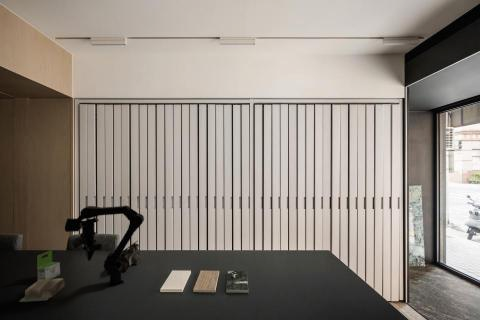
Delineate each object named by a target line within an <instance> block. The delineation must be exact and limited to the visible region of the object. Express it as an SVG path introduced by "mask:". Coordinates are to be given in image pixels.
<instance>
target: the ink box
mask: <svg viewBox="0 0 480 320" xmlns="http://www.w3.org/2000/svg"><path fill="white" fill-rule="evenodd" d="M45 255H47V256H45ZM44 256H45V257H44ZM36 260H37V261H36V263H37V264H36V266H37V267H36V269H37V270H36V273H37V274H36V277H37V281H38V280H41V279H55V278H56V277H58V276H60V275H61V267H60V266H61V264H60V262H57V261H53V250H52V249H51V250H48V251H46V252H44V253H41V254H38V255H37V259H36ZM37 281H36V282H37Z"/></svg>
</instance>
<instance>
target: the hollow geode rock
mask: <svg viewBox="0 0 480 320" xmlns="http://www.w3.org/2000/svg"><path fill="white" fill-rule="evenodd" d="M138 242H139V240H136V241H135V242H133V243H132V244H131V245H129V246H128V247H127V248H126V247H125V248H124V250H123V251H122V253H121V256H120V259H119V262H120V263H122V264H123V265H122V268H121V269H120V270H121V272H125V271H126V270H129V268H130V267H131V266H132V265H134V264H139V263H140V262H141V261H140V260H141V257H142V256H143V253H142V251H141V250H140V249H139V248H140V244H139V243H138Z"/></svg>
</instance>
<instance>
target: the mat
mask: <svg viewBox="0 0 480 320" xmlns="http://www.w3.org/2000/svg"><path fill="white" fill-rule="evenodd" d="M49 299H51V297H48V298H32V299H25V296H24V297H22V298H21V299H20V300H19V303H25V302H26V303H27V302H41V301H48V300H49Z"/></svg>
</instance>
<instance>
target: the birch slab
mask: <svg viewBox="0 0 480 320" xmlns="http://www.w3.org/2000/svg"><path fill="white" fill-rule="evenodd" d="M65 286H66V285H65V278H52V279H41V280H38V281H35V282H34V283H33V284H32V285H31V286H29V287H28V288H27V289H25V290H24V295H25V296H24V297H25V299H32V298H48V297H50V298H53V297H54V296H56V294H57V293H59V292H60V291H61V290H62V289H63V288H64V287H65Z"/></svg>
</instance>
